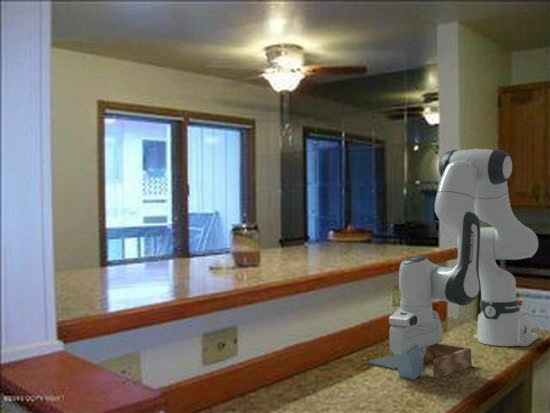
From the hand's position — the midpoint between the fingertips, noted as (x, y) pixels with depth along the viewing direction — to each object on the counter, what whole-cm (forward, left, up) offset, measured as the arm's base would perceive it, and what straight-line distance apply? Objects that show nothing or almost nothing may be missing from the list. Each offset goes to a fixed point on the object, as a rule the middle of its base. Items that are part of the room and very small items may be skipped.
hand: (418, 363), depth 159 cm
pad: (-3, -12, -3) cm, 13 cm away
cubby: (-7, 0, -3) cm, 7 cm away
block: (+3, 0, -2) cm, 4 cm away
